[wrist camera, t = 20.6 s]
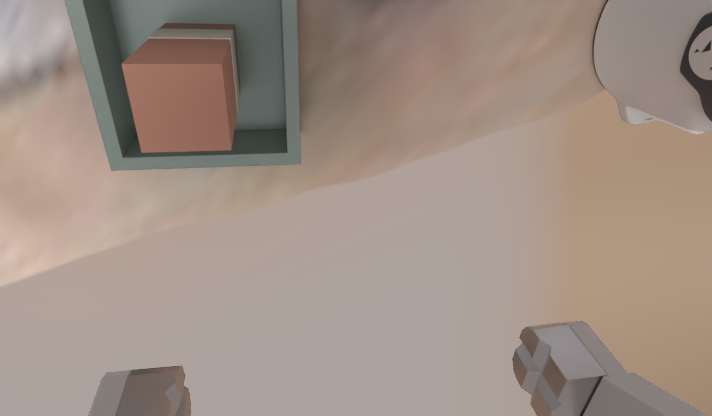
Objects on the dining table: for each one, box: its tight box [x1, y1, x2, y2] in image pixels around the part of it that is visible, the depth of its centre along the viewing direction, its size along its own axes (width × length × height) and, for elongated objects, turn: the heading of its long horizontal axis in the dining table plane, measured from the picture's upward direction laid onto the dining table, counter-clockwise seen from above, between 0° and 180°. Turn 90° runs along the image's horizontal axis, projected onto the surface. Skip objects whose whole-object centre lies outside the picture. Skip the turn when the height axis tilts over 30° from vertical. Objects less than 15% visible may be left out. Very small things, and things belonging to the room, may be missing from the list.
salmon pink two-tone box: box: [121, 23, 241, 153], centre depth 30 cm, size 5×5×12 cm
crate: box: [65, 0, 301, 171], centre depth 33 cm, size 14×14×6 cm
